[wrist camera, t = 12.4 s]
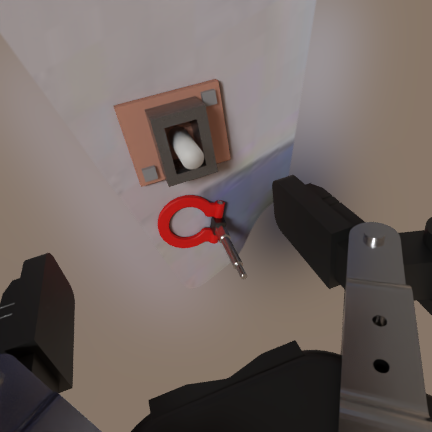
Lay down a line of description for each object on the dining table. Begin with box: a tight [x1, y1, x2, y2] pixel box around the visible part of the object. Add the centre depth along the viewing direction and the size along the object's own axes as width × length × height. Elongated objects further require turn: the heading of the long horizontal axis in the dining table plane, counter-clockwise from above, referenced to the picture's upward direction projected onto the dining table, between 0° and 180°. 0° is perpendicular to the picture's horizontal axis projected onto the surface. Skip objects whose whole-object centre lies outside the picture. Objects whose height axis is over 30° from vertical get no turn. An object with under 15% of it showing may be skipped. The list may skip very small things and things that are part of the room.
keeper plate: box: [114, 79, 230, 187], centre depth 39 cm, size 10×12×8 cm
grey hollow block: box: [145, 96, 218, 187], centre depth 39 cm, size 8×6×4 cm
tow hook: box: [158, 195, 247, 279], centre depth 44 cm, size 8×13×9 cm
